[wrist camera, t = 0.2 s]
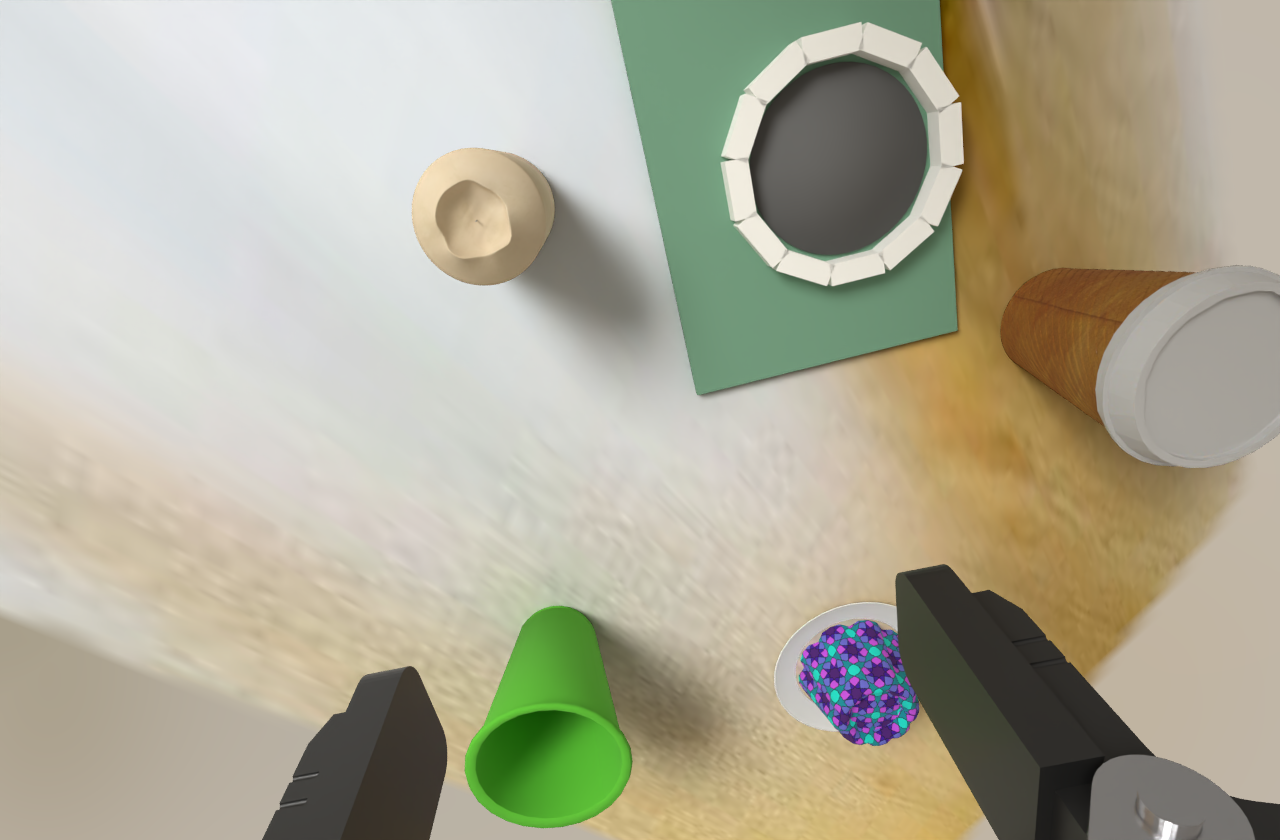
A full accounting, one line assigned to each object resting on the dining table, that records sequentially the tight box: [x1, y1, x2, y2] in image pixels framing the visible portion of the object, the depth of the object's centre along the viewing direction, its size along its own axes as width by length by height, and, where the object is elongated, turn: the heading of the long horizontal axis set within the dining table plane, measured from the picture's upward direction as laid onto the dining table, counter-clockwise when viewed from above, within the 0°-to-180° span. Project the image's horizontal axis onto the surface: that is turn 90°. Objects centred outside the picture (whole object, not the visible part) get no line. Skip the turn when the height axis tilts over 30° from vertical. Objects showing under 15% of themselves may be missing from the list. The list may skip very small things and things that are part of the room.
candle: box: [412, 148, 555, 285], centre depth 31 cm, size 6×6×10 cm
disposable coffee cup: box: [1001, 265, 1280, 468], centre depth 34 cm, size 10×10×12 cm
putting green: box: [611, 0, 964, 395], centre depth 35 cm, size 22×16×2 cm
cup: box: [465, 606, 632, 828], centre depth 40 cm, size 9×9×11 cm
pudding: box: [774, 602, 919, 746], centre depth 46 cm, size 12×12×5 cm
